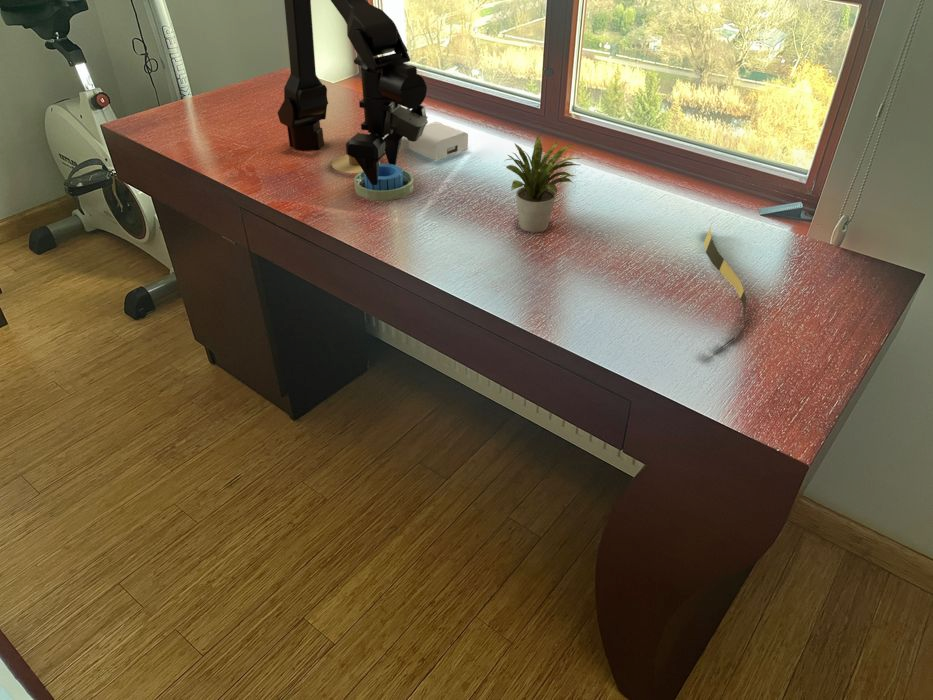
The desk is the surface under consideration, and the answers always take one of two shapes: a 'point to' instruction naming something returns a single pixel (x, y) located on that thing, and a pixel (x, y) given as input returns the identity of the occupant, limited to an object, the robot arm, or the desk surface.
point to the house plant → (537, 185)
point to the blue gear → (387, 178)
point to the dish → (384, 194)
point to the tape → (724, 271)
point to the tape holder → (347, 164)
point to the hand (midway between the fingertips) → (383, 175)
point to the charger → (440, 141)
